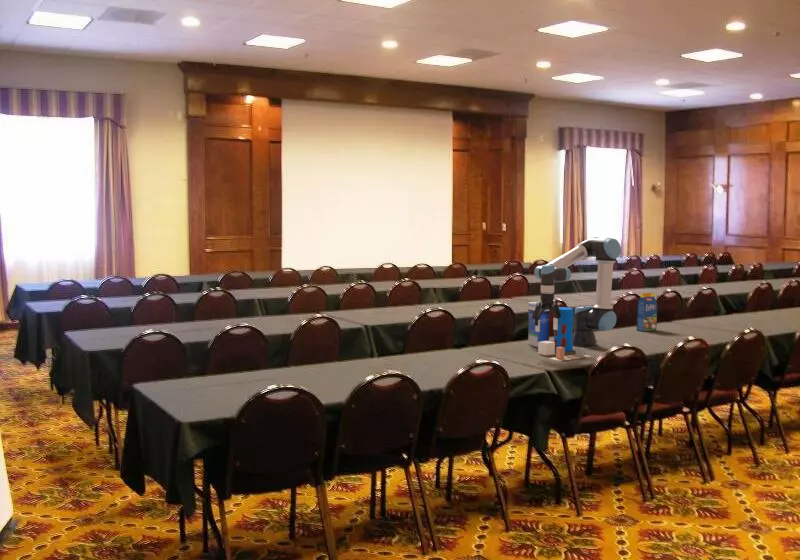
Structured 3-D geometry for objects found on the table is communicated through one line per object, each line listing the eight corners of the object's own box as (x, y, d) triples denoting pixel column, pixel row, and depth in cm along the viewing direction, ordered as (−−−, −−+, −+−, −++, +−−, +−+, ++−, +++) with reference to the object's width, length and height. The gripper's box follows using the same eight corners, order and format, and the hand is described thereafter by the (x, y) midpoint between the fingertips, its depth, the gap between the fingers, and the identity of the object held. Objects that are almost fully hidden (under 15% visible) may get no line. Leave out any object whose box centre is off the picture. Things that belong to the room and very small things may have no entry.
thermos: (572, 353, 487) (573, 309, 485) (553, 352, 489) (554, 309, 487) (572, 350, 498) (573, 307, 495) (554, 349, 500) (554, 306, 497)
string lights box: (549, 347, 507) (550, 304, 505) (538, 348, 505) (538, 304, 502) (538, 343, 520) (538, 301, 517) (527, 344, 517) (527, 301, 515)
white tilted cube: (546, 354, 485) (546, 340, 484) (554, 355, 480) (554, 342, 479) (538, 355, 482) (538, 341, 481) (546, 357, 476) (546, 343, 476)
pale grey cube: (579, 355, 477) (580, 348, 476) (584, 356, 474) (584, 349, 474) (575, 355, 475) (575, 348, 474) (580, 356, 472) (580, 349, 472)
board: (579, 355, 481) (579, 353, 481) (591, 357, 474) (591, 356, 474) (548, 360, 468) (548, 358, 468) (560, 362, 461) (560, 360, 460)
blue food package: (636, 330, 570) (637, 293, 567) (649, 329, 576) (650, 292, 573) (643, 331, 564) (644, 294, 562) (656, 330, 570) (657, 292, 568)
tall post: (560, 357, 470) (560, 346, 469) (564, 358, 467) (564, 347, 466) (556, 358, 468) (556, 347, 467) (560, 359, 465) (560, 348, 465)
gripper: (558, 290, 487) (557, 327, 489) (526, 293, 473) (525, 331, 475) (568, 292, 481) (567, 329, 483) (535, 294, 467) (534, 333, 469)
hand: (546, 330), depth 479 cm, fingers open, 13 cm apart
